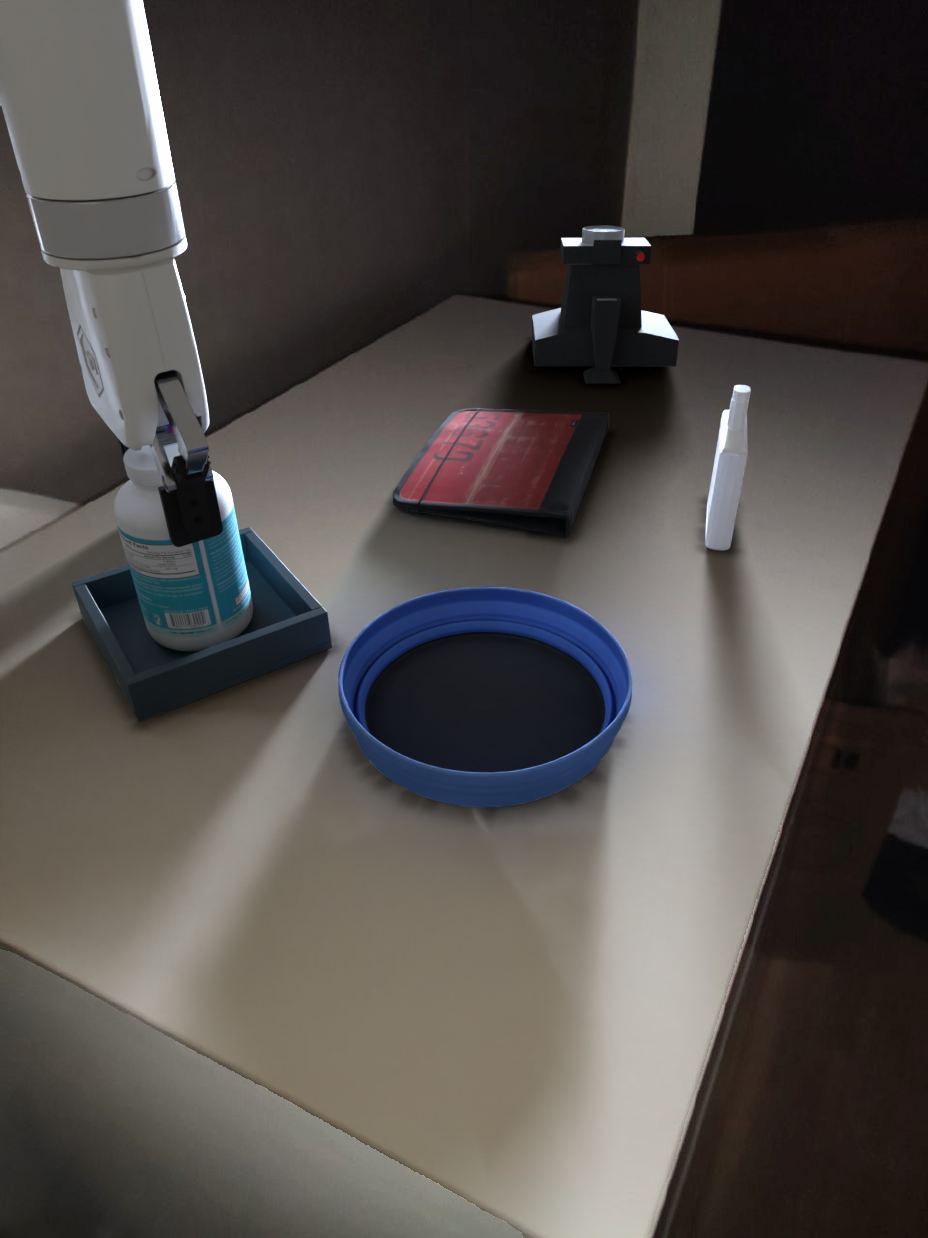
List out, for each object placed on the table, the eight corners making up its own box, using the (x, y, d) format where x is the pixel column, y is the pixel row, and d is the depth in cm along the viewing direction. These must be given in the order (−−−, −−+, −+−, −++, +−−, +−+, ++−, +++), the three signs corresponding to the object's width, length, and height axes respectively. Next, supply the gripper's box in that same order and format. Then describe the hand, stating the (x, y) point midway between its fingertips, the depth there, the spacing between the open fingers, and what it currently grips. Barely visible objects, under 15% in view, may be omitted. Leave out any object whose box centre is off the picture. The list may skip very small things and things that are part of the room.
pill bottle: (224, 582, 69) (191, 415, 61) (274, 627, 64) (245, 453, 56) (130, 620, 65) (81, 447, 57) (175, 671, 61) (129, 491, 53)
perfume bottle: (706, 500, 79) (729, 367, 72) (730, 503, 79) (755, 369, 72) (704, 548, 73) (728, 408, 66) (729, 551, 73) (756, 410, 66)
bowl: (685, 710, 58) (692, 667, 56) (485, 874, 48) (485, 829, 46) (483, 595, 68) (483, 555, 66) (285, 710, 58) (278, 667, 56)
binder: (610, 409, 89) (570, 515, 73) (609, 431, 91) (570, 540, 74) (453, 400, 93) (383, 497, 77) (455, 421, 95) (386, 521, 79)
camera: (673, 220, 105) (697, 241, 92) (660, 347, 112) (680, 383, 99) (535, 221, 105) (539, 242, 92) (531, 347, 113) (534, 383, 100)
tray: (81, 616, 67) (70, 581, 65) (255, 559, 73) (249, 526, 71) (138, 722, 58) (127, 685, 56) (332, 647, 63) (327, 612, 62)
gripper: (2, 202, 53) (81, 475, 64) (82, 274, 41) (162, 594, 52) (131, 185, 56) (186, 447, 67) (238, 248, 45) (284, 554, 55)
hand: (175, 510), depth 59 cm, fingers closed on pill bottle, 7 cm apart
